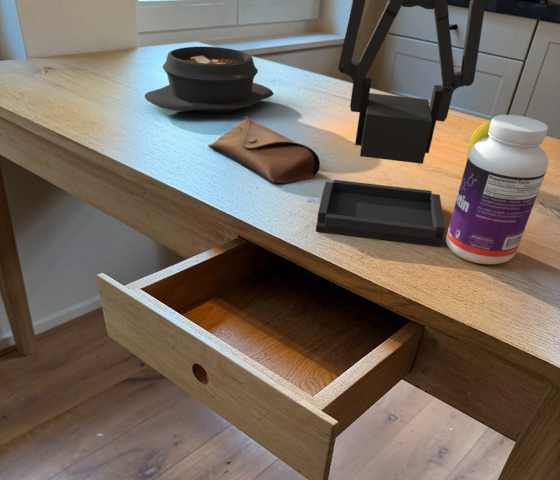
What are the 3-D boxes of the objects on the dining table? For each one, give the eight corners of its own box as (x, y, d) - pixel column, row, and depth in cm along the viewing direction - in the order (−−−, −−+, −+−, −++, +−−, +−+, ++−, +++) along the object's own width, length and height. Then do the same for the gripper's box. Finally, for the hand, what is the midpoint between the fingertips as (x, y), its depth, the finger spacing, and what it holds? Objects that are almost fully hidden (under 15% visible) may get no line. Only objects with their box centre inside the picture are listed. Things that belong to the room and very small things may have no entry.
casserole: (182, 129, 93) (179, 73, 88) (126, 101, 104) (120, 49, 98) (294, 109, 107) (297, 59, 101) (234, 86, 117) (235, 39, 112)
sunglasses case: (202, 144, 87) (221, 101, 85) (234, 160, 92) (252, 121, 90) (274, 184, 77) (297, 136, 75) (305, 200, 82) (327, 156, 80)
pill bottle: (446, 231, 70) (479, 106, 60) (513, 243, 68) (557, 117, 59) (441, 260, 64) (477, 127, 54) (514, 274, 62) (564, 140, 53)
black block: (419, 138, 69) (428, 99, 66) (422, 164, 62) (432, 121, 59) (362, 132, 70) (368, 92, 67) (359, 156, 63) (366, 113, 60)
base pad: (435, 206, 75) (439, 191, 74) (441, 247, 66) (446, 231, 65) (324, 193, 77) (326, 178, 75) (315, 231, 67) (317, 215, 66)
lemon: (497, 184, 83) (515, 127, 78) (459, 177, 84) (474, 121, 79) (499, 172, 87) (516, 117, 82) (463, 165, 88) (477, 111, 83)
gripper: (326, -125, 49) (303, 146, 64) (562, -107, 47) (482, 166, 62) (333, -122, 55) (310, 126, 69) (543, -105, 53) (474, 144, 68)
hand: (391, 145), depth 66 cm, fingers closed on black block, 7 cm apart
